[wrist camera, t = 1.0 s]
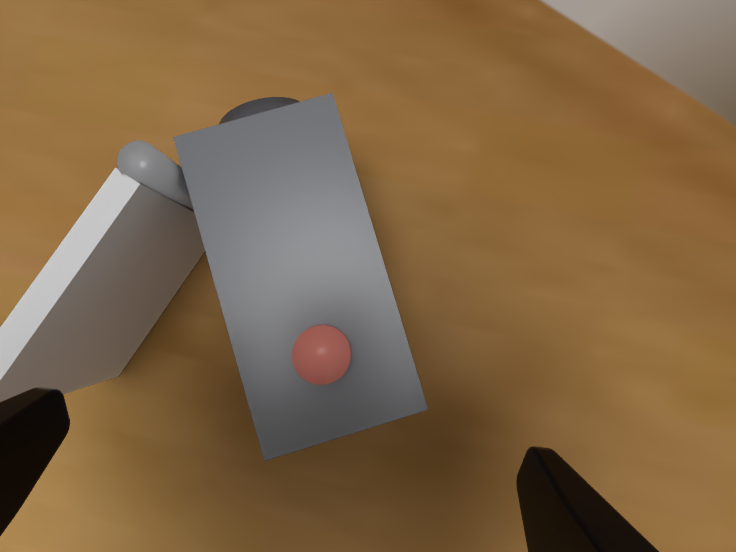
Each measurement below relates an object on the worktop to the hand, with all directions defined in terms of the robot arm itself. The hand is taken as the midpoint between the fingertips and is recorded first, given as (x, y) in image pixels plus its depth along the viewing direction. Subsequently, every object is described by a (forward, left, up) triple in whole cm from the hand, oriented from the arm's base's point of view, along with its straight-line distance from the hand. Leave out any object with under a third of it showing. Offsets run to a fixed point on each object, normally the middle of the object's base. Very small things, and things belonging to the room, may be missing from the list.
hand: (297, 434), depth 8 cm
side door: (-4, +8, -13) cm, 16 cm away
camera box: (+2, +4, -13) cm, 14 cm away
